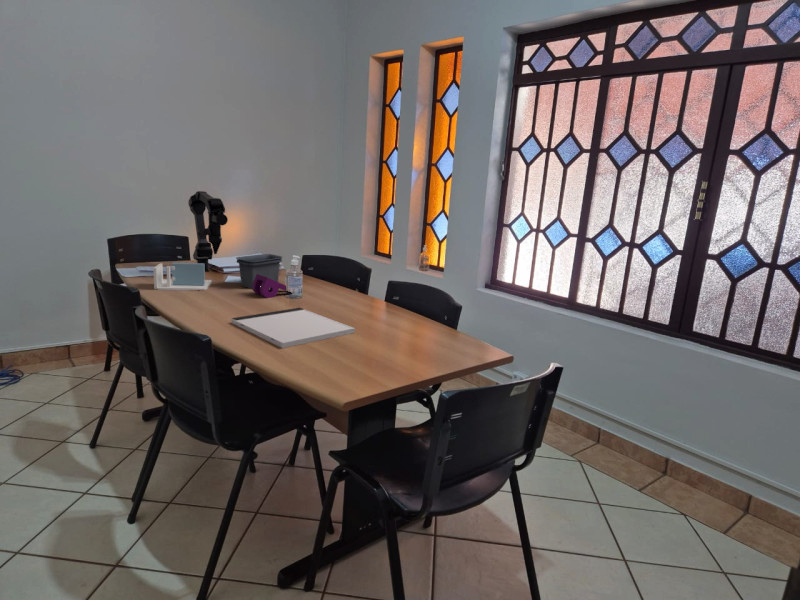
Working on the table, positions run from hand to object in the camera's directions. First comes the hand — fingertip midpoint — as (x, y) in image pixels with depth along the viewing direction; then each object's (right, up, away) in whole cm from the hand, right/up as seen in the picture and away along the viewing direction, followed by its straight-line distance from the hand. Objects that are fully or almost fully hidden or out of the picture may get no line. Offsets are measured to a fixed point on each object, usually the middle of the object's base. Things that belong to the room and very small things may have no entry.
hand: (215, 254), depth 272 cm
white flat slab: (+55, -35, -73) cm, 97 cm away
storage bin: (+24, -16, -8) cm, 30 cm away
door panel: (-5, -16, -23) cm, 29 cm away
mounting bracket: (+36, -21, -24) cm, 49 cm away
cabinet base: (-8, -17, -20) cm, 27 cm away
